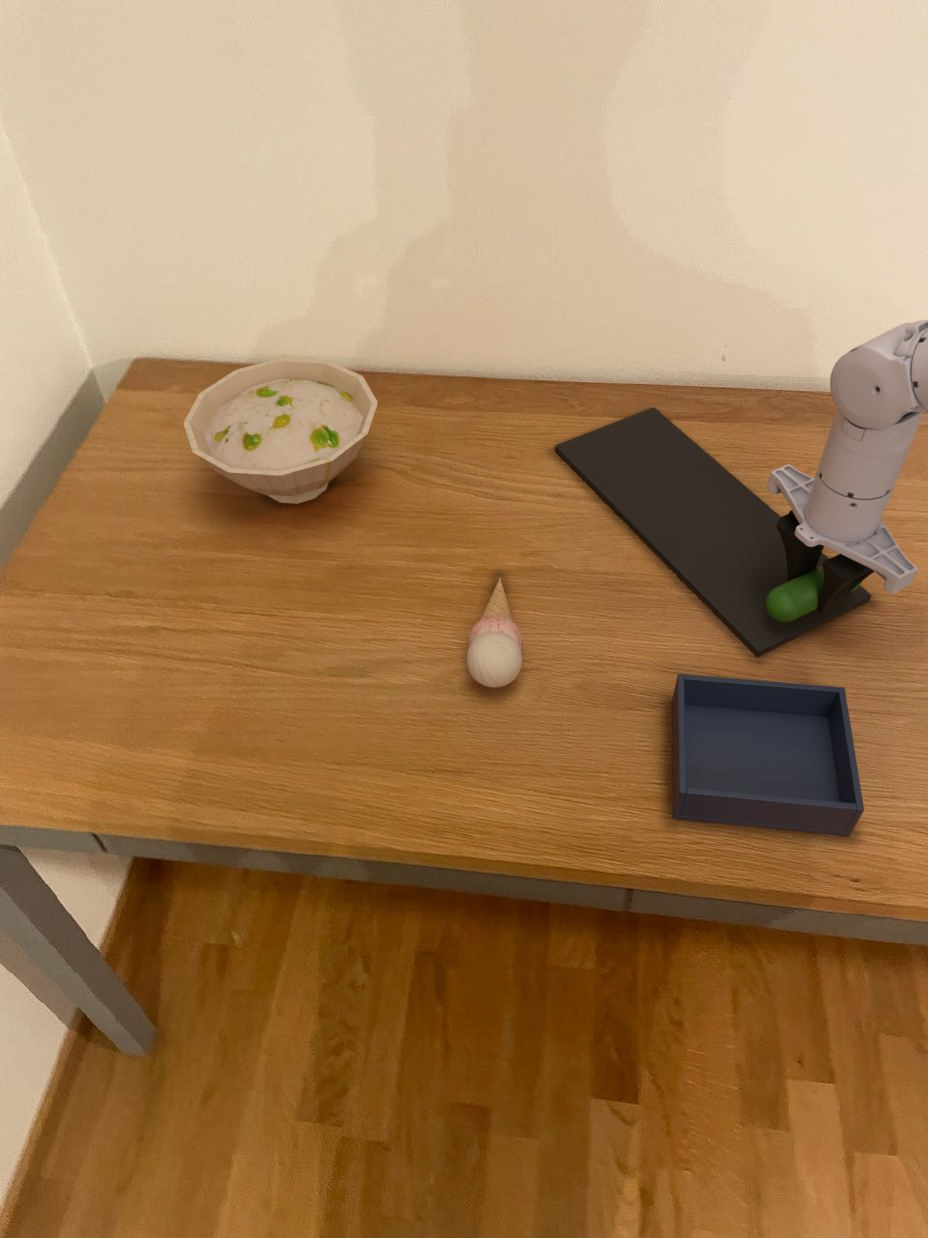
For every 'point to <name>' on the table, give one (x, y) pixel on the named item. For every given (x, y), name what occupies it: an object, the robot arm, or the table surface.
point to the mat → (696, 522)
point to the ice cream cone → (495, 644)
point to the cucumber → (796, 596)
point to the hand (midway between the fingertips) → (812, 594)
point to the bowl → (282, 426)
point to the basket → (764, 755)
